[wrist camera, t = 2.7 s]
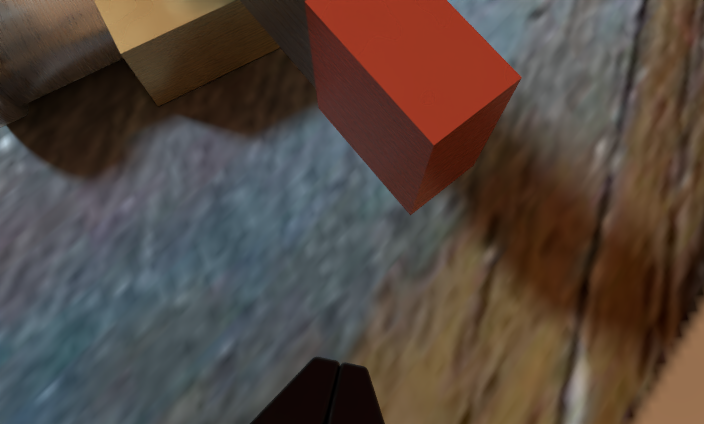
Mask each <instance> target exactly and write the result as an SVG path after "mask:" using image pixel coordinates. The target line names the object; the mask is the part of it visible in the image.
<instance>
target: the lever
mask: <svg viewBox="0 0 704 424" xmlns="http://www.w3.org/2000/svg"><path fill="white" fill-rule="evenodd" d="M240 1H241V2H242V4H243V5H244V6H245V7H246V8H247V9H248V11H249V12H250V13H251V14H252V15H253V16H254V17H255V19H256V20H257V21H258V22H259V23H260V24H261V26H262V27H263V28H264V29H265V30H266V31H267V33H268V34H269V35H270V36H271V37H272V38H273V39H274V41H275V42H276V43H277V44H278V45H279V46H280V48H281V49H282V50H283V51H284V52H285V53H286V55H287V56H288V57H289V58H290V59H291V60H292V61H293V63H294V64H295V65H296V66H297V67H298V68H299V70H300V71H301V72H302V73H303V74H304V75H305V76H306V78H307V79H308V80H309V81H310V82H311V83H312V85H313V86H314V87H315V88H316V92H317V100H318V107H319V109H320V110H321V112H322V113H323V114H324V115H325V116H326V117H327V119H328V120H329V121H330V122H331V123H332V124H333V126H334V127H335V128H336V129H337V130H338V131H339V133H340V134H341V135H342V136H343V137H344V138H345V139H346V141H347V142H348V143H349V144H350V145H351V146H352V148H353V149H354V150H355V151H356V152H357V153H358V155H359V156H360V157H361V158H362V159H363V160H364V162H365V163H366V164H367V165H368V166H369V167H370V169H371V170H372V171H373V172H374V173H375V174H376V176H377V177H378V178H379V179H380V180H381V181H382V183H383V184H384V185H385V186H386V187H387V188H388V190H389V191H390V192H391V193H392V194H393V195H394V197H395V198H396V199H397V200H398V201H399V202H400V204H401V205H402V206H403V207H404V208H405V209H406V211H407V212H408V213H409V214H410V215H411V214H413V213H414V212H415V211H417V210H418V209H419V208H420V207H422V206H423V205H424V204H425V203H427V202H428V201H429V200H430V199H432V198H433V197H434V196H436V195H437V194H438V193H439V192H441V191H442V190H443V189H444V188H446V187H447V186H448V185H449V184H451V183H452V182H453V181H455V180H456V179H457V178H458V177H460V176H461V175H462V174H463V173H465V172H466V171H467V170H468V169H470V168H471V167H472V166H473V165H474V164H475V162H476V160H477V158H478V156H479V155H480V153H481V151H482V149H483V147H484V145H485V144H486V142H487V140H488V138H489V136H490V134H491V133H492V131H493V129H494V127H495V125H496V124H497V122H498V120H499V118H500V116H501V114H502V113H503V111H504V109H505V107H506V105H507V103H508V102H509V100H510V98H511V96H512V94H513V93H514V91H515V89H516V87H517V85H518V83H519V82H520V80H521V78H522V77H521V76H520V75H519V74H518V73H517V72H516V71H515V70H514V69H513V68H512V67H511V66H510V65H509V64H508V63H507V62H506V61H505V60H504V59H503V58H502V57H501V56H500V55H499V54H498V53H497V52H496V51H495V50H494V49H493V48H492V47H491V45H490V44H489V43H488V42H487V41H486V40H485V39H484V38H483V37H482V36H481V35H480V34H479V33H478V32H477V31H476V30H475V29H474V28H473V27H472V26H471V25H470V24H469V23H468V22H467V21H466V20H465V19H464V18H463V17H462V16H461V15H460V14H459V13H458V11H457V10H456V9H455V8H454V7H453V6H452V5H451V4H450V3H449V2H448V1H447V0H240Z"/></svg>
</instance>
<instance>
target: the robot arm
mask: <svg viewBox="0 0 704 424" xmlns="http://www.w3.org/2000/svg"><path fill="white" fill-rule="evenodd" d="M250 424H385V423H384V420H383V416H382V413H381V410H380V407H379V404H378V401H377V397H376V394H375V391H374V388H373V385H372V381H371V378H370V375H369V372H368V370H367V368H365V367H364V366H359V365H355V364H350V363H342V364H341V365H340V364H339V362H338V361H336V360H331V359H326V358H321V357H314V358H313V359H312V360H311V361H310V362H309V363H308V364H307V365H306V366H305V367H304V368H303V369H302V370H301V371H300V372H299V373H298V374H297V375H296V376H295V377H294V378H293V379H292V380H291V381H290V382H289V383H288V384H287V386H286V387H285V388H284V389H283V390H282V391H281V392H280V393H279V394H278V395H277V396H276V397H275V398H274V399H273V400H272V401H271V402H270V403H269V404H268V405H267V406H266V407H265V408H264V409H263V410H262V411H261V413H260V414H259V415H258V416H257V417H256V418H255V419H254V420H253V421H252V422H251V423H250Z"/></svg>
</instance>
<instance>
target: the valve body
mask: <svg viewBox="0 0 704 424" xmlns="http://www.w3.org/2000/svg"><path fill="white" fill-rule="evenodd" d="M279 48H280V46H279V45H278V44H277V43H276V42H275V41H274V39H273V38H272V37H271V36H270V35H269V34H268V33H267V31H266V30H265V29H264V28H263V27H262V26H261V24H260V23H259V22H258V21H257V20H256V19H255V17H254V16H253V15H252V14H251V13H250V12H249V11H248V9H247V8H246V7H245V6H244V5H243V4H242V2H241V1H240V0H0V128H1V127H3V126H5V125H7V124H10V123H12V122H14V121H16V120H18V119H20V118H22V117H25V116H26V115H27V114H28V103H29V102H31V101H33V100H35V99H37V98H39V97H42V96H44V95H46V94H48V93H50V92H52V91H54V90H57V89H59V88H61V87H63V86H65V85H67V84H69V83H72V82H74V81H76V80H78V79H80V78H82V77H84V76H87V75H89V74H91V73H93V72H95V71H97V70H99V69H102V68H104V67H106V66H108V65H110V64H112V63H114V62H117V61H119V60H121V59H123V58H124V59H125V61H126V62H127V64H128V65H129V66H130V68H131V69H132V71H133V72H134V73H135V75H136V76H137V78H138V79H139V80H140V82H141V83H142V85H143V86H144V87H145V89H146V90H147V92H148V93H149V94H150V96H151V97H152V99H153V100H154V101H155V103H156V104H157V106H160V105H162V104H164V103H166V102H169V101H171V100H173V99H175V98H177V97H179V96H181V95H183V94H185V93H187V92H189V91H191V90H193V89H196V88H198V87H200V86H202V85H204V84H206V83H208V82H210V81H212V80H214V79H216V78H218V77H220V76H222V75H225V74H227V73H229V72H231V71H233V70H235V69H237V68H239V67H241V66H243V65H245V64H247V63H249V62H252V61H254V60H256V59H258V58H260V57H262V56H264V55H266V54H268V53H270V52H272V51H274V50H276V49H279Z"/></svg>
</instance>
